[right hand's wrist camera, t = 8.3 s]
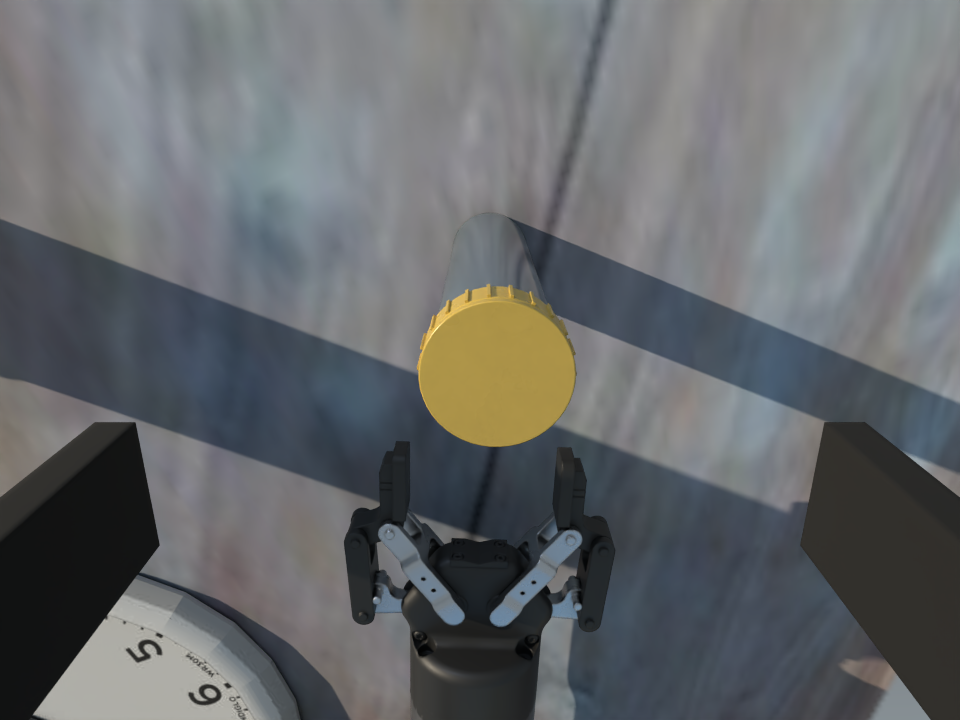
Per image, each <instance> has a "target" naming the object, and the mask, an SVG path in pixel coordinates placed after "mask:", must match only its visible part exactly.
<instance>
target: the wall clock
mask: <svg viewBox="0 0 960 720" xmlns="http://www.w3.org/2000/svg"><path fill="white" fill-rule="evenodd" d="M29 720H300V715H299V711H298V706H297V702H296V699H295V697H294V696H293V694H292V692H291V691H290V689H289V687H288V685H287V684H286V682H285V680H284V679H283V677H282V675H281V674H280V672H279V670H278V669H277V667H276V665H275V663H274V662H273V660H272V659H271V658H270V657H269V656H268V655H267V654H266V653H265V652H264V651H263V650H262V649H261V648H260V647H259V646H258V645H257V644H256V643H255V642H254V641H253V640H252V639H251V638H250V637H249V636H248V635H247V634H246V633H245V632H244V631H243V630H242V629H241V628H240V627H239V626H238V625H237V624H235V623H234V622H233V621H231V620H229V619H228V618H226V617H225V616H223V615H221V614H220V613H218V612H217V611H215V610H213V609H212V608H210V607H208V606H207V605H205V604H204V603H202V602H200V601H199V600H197V599H196V598H194V597H192V596H191V595H189V594H187V593H186V592H183V591H181V590H178V589H175V588H172V587H170V586H167V585H164V584H161V583H159V582H156V581H153V580H150V579H148V578H145V577H142V576H139V575H137V576H136V578H135V579H134V580H133V582H132V583H131V584H130V586H129V587H128V588H127V590H126V591H125V592H124V594H123V595H122V596H121V598H120V599H119V600H118V602H117V603H116V604H115V606H114V607H113V608H112V610H111V611H110V612H109V614H108V615H107V616H106V618H105V619H104V620H103V622H102V623H101V624H100V626H99V627H98V628H97V630H96V631H95V632H94V634H93V635H92V636H91V638H90V639H89V640H88V642H87V643H86V644H85V646H84V647H83V648H82V650H81V651H80V652H79V654H78V655H77V656H76V658H75V659H74V660H73V662H72V663H71V664H70V666H69V667H68V668H67V670H66V671H65V672H64V674H63V675H62V677H61V678H60V679H59V681H58V682H57V683H56V685H55V686H54V687H53V689H52V690H51V691H50V693H49V694H48V695H47V697H46V698H45V699H44V701H43V702H42V703H41V705H40V706H39V707H38V709H37V710H36V711H35V713H34V714H33V715H32V717H31V718H30V719H29Z"/></svg>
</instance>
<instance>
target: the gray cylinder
mask: <svg viewBox="0 0 960 720" xmlns="http://www.w3.org/2000/svg"><path fill="white" fill-rule="evenodd" d="M487 284H490V286H503V287H509V285H513V288H515V289H518V290H522V291H524V292H527V293H529V292H530V291H531V292H533V294H534V296H535V297H536V298H538V299H540V300H541V301H542V302H543V303H545V304H546V305H547V301H546V298H545V295H544V292H543V289H542V286H541V283H540V281H539V278H538V275H537V272H536V269H535V266H534V263H533V260H532V257H531V255H530V252H529V249H528V246H527V243H526V240H525V237H524V235H523V233H522V231H521V229H520V228H519V226H518V225H517V224H516V223H515V222H514V221H512V220H511V219H509V218H508V217H506V216H504V215H501V214H496V213H483V214H479V215H476V216H474V217H472V218H470V219H469V220H468V221H466V222H465V223H464V224H463V225H462V226H461V227H460V229H459V230H458V232H457V234H456V236H455V239H454V243H453V248H452V252H451V257H450V261H449V266H448V270H447V275H446V280H445V284H444V289H443V293H442V298H441V302H440V307H439V312H440V311H441V310H442V309H443V308H444V307H445V306H446V302H447V301H448V300H450V301H452V300H454V299H455V298H457V297H458V296H460V295H462V294H464V293H465V290H467V289H469V291H472V290H474V289H479V288H483V287H487ZM439 312H438V313H439Z"/></svg>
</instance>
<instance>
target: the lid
mask: <svg viewBox="0 0 960 720" xmlns="http://www.w3.org/2000/svg"><path fill="white" fill-rule="evenodd" d="M566 335H568V332H567V330H566V327H565V325H564V322H563V320H560V321H559V319H558V318H557V316H556V315H555V313H554V312H553V310H552V307H551V305H550V304H549V303H548V304H547V305H546V304H545V303H543V302H542V301H541V300H540V299H538V298H536V297H535V296H534V294H533V292H531V291H530V292H529V293H527V292H524V291H522V290H518V289H515V288H513V285H509V287H503V286H490V284H487V287H483V288H479V289H474V290H472V291H469V289H467V290H465V293H464V294H462V295H460V296H458V297H457V298H455V299H454V300H452V301H450V300H448V301H447V302H446V306H445V307H444V308H443V309H442V310H441V311H440V312H439V313H438V315H437V316H436V315H433V317H432V321H431V325H430V328H429V330H428V332H427V334H426V333H424V336H423V339H422V343H421V347H420V349H421V350H422V353H421V354H420V358H419V362H418V366H417V370H419V385H420V390H421V394H422V397H423V400H424V402H425V404H426V406H427V408H428V410H429V411H430V413H431V414H432V416H433V417H434V418H435V419H436V421H437V422H438V423H439V424H440V425H441V426H442V427H444V428H445V429H446V430H447V431H449V432H450V433H451V434H453V435H455V436H456V437H458V438H460V439H462V440H465V441H467V442H470V443H473V444H477V445H481V446H488V447H505V446H512V445H517V444H521V443H523V442H526V441H529V440H531V439H533V438H535V437H537V436H539V435H540V434H542V433H544V432H545V431H546V430H548V429H549V428H550V427H551V426H552V425H553V424H554V423H555V422H556V421H557V420H558V419H559V418H560V417H561V415H562V414H563V413H564V411H565V410H566V408H567V406H568V404H569V402H570V400H571V397H572V394H573V391H574V386H575V380H576V374H577V373H576V367H575V360H574V355H575V351H574V348H573V346H572V343H571V340H570V338H569V339H567V336H566Z"/></svg>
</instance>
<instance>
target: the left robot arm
mask: <svg viewBox="0 0 960 720" xmlns="http://www.w3.org/2000/svg"><path fill="white" fill-rule="evenodd" d="M379 481H380V506H379V507H378V508H375V509H372V510H369V509H367V508H358V509H356V510H355V511H354V512H353V515H352V518H351V524H350V527H349V530H348V532H347V534H346V537H345V540H344V547H345V555H346V564H347V573H348V582H349V590H350V599H351V608H352V616H353V619H354V621H355V622H357V623H359V624H362V625H366V624H369V623H371V622H372V621H373V620H374V616H375V613H403V615H404V617H405V618H406V620H407V621H408V623H409V625H410V693H411V720H534V712H535V701H536V689H537V678H538V666H539V655H540V643H541V633H542V630H543V628H544V626H545V625H546V624H547V623H548V621H549V620H550V618H551V617H555V618H567V619H578V623H579V627H580V628H581V629H582V630H583V631H586V632H593V631H595V630H597V629H598V628H599V627H600V624H601V619H602V614H603V609H604V604H605V599H606V594H607V590H608V585H609V580H610V575H611V570H612V565H613V560H614V555H615V548H614V545H613V541H612V538H611V535H610V531H609V528H608V525H607V522H606V520H605V519H604V518H603V517H601V516H593V517H588V516H585V515H584V514H583V510H584V501H585V489H586V482H587V480H586V476H585V473H584V469H583V466H582V463H581V460H580V458H574V456H573V452H572V448H567V447H558V448H557V457H556V469H555V480H554V492H553V503H552V504H553V509H554V512H553V513H552V514H551V515H550V516H549V517H548V518H547V519H546V520H545V521H544V522H543V523H542V524H541V525H540V526H539V527H532V528H531V529H530V530H529V531H528V532H527V533H526V534H525V535H524V536H523V537H522V538H521V539H520V540H519V541H518V542H517V543H516V544H515V545H514V546H511V545H508V544H507V540H488V541H483V542H476V541H472V540H469V539H460V538H452V541H451V543H447V544H444V543H443V542H442V541H441V540H440V539H439V537H438V536H437V535H436V534H435V533H434V532H433V530H432V529H431V528H430V527H429V526H428V525H427V524H426V523H423V524H422V523H421V522H420V521H419V520H418V519H417V518H416V517H415V516H414V514H413V513H412V512H411V511H410V510H409V509H408V507H409V501H410V442H405V441H396V444H395V448H394V451H387V452H386V454H385V456H384V459H383V462H382V465H381V469H380V472H379ZM380 541H382V542H383V543H384V544H385V545H386V547H387V548H388V549H389V550H390V551H391V552H392V553H393V554H394V555H395V557H396V558H397V559H398V560H399V562H400V564H401V568H402V570H403V572H404V574H405V575H406V576H407V577H408V578H409V579H410V580H409V581H408V582H407V583H406V585H405V587H404V589H400V588H397V587H395V586H394V585H393V584H392V581H391V578H390V577H389V576H388V575H387V572H386V571H385V570H380V571H379V565H378V555H377V544H376V543H377V542H380ZM577 548H580V549H581V553H580V558H579V564H578V570H577V575H576V577H575V576H570V577H569V578H568V581H567V582H566V583H565V584H564V587H563V589H562V590H561V591H559V592H557V593H550V590H549V588H548V587H547V584H548V583H549V582H550V581H551V580H552V579H553V578H554V576H555V575H556V573H557V569H558V567H559V565H560V564H561V563H562V562H563V561H564V560H565V559H566V558H568V557H569V556H570V555H571V554H572V553H573V552H574V551H575V550H576V549H577Z"/></svg>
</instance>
